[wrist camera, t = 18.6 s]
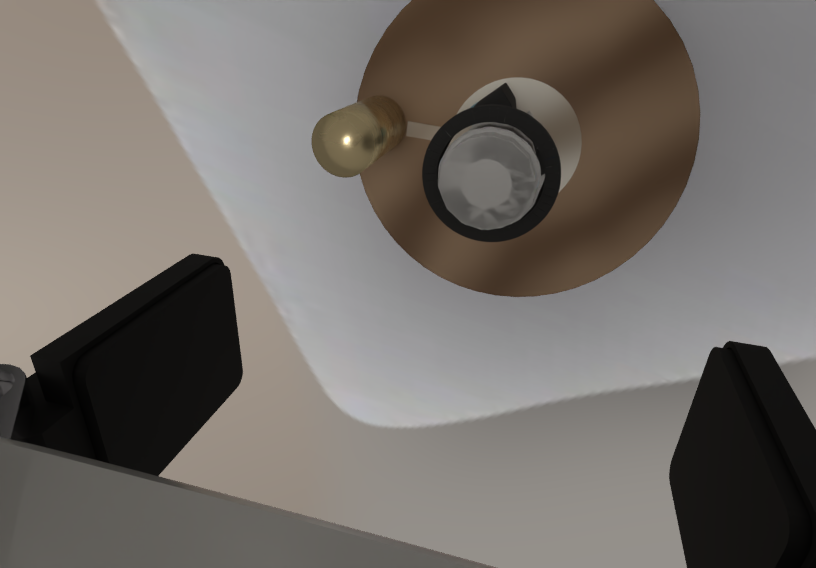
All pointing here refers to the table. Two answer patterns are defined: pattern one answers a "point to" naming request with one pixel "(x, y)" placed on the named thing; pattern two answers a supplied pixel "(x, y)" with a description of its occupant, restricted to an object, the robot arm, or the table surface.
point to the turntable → (551, 106)
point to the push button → (492, 170)
